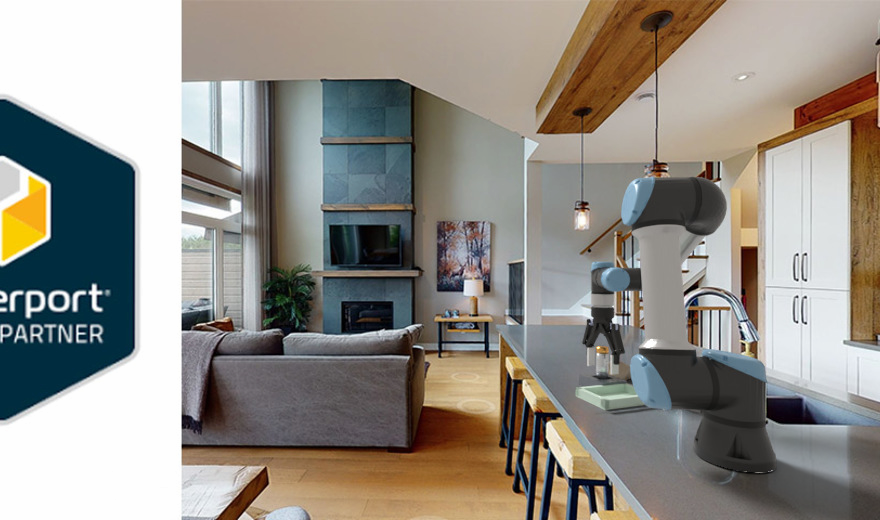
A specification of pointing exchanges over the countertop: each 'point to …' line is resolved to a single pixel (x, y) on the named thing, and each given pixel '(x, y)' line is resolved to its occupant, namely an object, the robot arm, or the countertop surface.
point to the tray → (610, 396)
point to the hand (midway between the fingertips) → (602, 369)
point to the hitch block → (598, 380)
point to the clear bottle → (602, 362)
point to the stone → (622, 371)
